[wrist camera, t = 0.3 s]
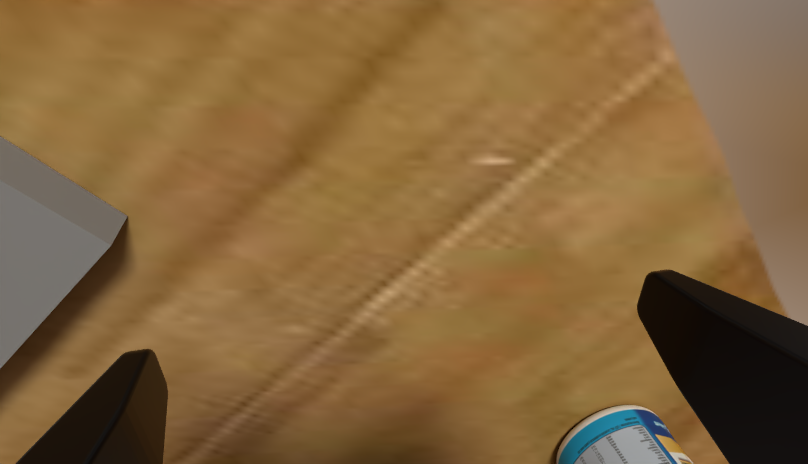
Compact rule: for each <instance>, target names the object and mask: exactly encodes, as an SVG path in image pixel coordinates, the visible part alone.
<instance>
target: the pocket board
mask: <svg viewBox="0 0 808 464" xmlns="http://www.w3.org/2000/svg"><path fill="white" fill-rule="evenodd" d="M126 218H127V215H125V214H123V213H122V212H120V211H119V210H117V209H115V208H114V207H112V206H111V205H109V204H107V203H106V202H104V201H103V200H101V199H99V198H98V197H96V196H95V195H93V194H91V193H90V192H88V191H87V190H85V189H84V188H82V187H80V186H79V185H77V184H76V183H74V182H72V181H71V180H69V179H68V178H66V177H64V176H63V175H61V174H60V173H58V172H56V171H55V170H53V169H52V168H50V167H48V166H47V165H45V164H44V163H42V162H40V161H39V160H37V159H36V158H34V157H33V156H31V155H29V154H28V153H26V152H25V151H23V150H21V149H20V148H18V147H17V146H15V145H13V144H12V143H10V142H9V141H7V140H5V139H4V138H2V137H1V136H0V368H1V367H2V366H3V365H4V364H5V363H6V362H7V361H8V360H9V358H10V357H11V356H12V355H13V354H14V353H15V352H16V351H17V350H18V348H19V347H20V346H21V345H22V344H23V343H24V342H25V341H26V339H27V338H28V337H29V336H30V335H31V334H32V333H33V332H34V331H35V329H36V328H37V327H38V326H39V325H40V324H41V323H42V322H43V321H44V319H45V318H46V317H47V316H48V315H49V314H50V313H51V312H52V311H53V309H54V308H55V307H56V306H57V305H58V304H59V303H60V302H61V301H62V299H63V298H64V297H65V296H66V295H67V294H68V293H69V292H70V291H71V289H72V288H73V287H74V286H75V285H76V284H77V283H78V282H79V281H80V279H81V278H82V277H83V276H84V275H85V274H86V273H87V272H88V271H89V269H90V268H91V267H92V266H93V265H94V264H95V263H96V262H97V261H98V259H99V258H100V257H101V256H102V255H103V254H104V253H105V252H106V251H107V249H108V248H109V247H110V246H111V245H112V243H113V241H114V239H115V238H116V236H117V234H118V232H119V231H120V229H121V227H122V225H123V224H124V222H125V220H126Z"/></svg>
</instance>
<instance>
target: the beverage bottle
mask: <svg viewBox="0 0 808 464" xmlns="http://www.w3.org/2000/svg"><path fill="white" fill-rule="evenodd" d="M557 464H693V463H692V461H691V460H690V459H689V458H688V456H687V455H686V454H685V453H684V451H683V450H682V449H681V448H680V446H679V445H678V444H677V442H676V441H675V440H674V438H673V437H672V435H671V434H670V432H669V430H668V429H667V427H666V426H665V425H664V423H663V422H662V421H661V420H660V419H659V417H658V416H657V415H656V414H655V413H653V412H652V411H651V410H649V409H647V408H644V407H641V406H636V405H620V406H615V407H611V408H607V409H604V410H602V411H599V412H597V413H595V414H593V415H591V416H589V417H588V418H586V419H585V420H583V421H582V422H580V423H579V424H578V425H577V426H575V427H574V428H573V429H572V430H571V431H570V432H569V433H568V435H567V436H566V437H565V439H564V440H563V442H562V443H561V445H560V447H559V450H558V453H557Z"/></svg>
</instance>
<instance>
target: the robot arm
mask: <svg viewBox="0 0 808 464" xmlns="http://www.w3.org/2000/svg"><path fill="white" fill-rule="evenodd" d="M637 311H638V315H639V317H640V320H641V321H642V323H643V325H644V327H645V329H646V331H647V332H648V334H649V336H650V338H651V340H652V342H653V343H654V345H655V347H656V349H657V351H658V353H659V355H660V356H661V358H662V360H663V362H664V364H665V366H666V367H667V369H668V371H669V373H670V375H671V376H672V378H673V380H674V382H675V383H676V385H677V387H678V388H679V390H680V391H681V393H682V394H683V396H684V397H685V399H686V400H687V402H688V403H689V405H690V406H691V408H692V409H693V411H694V412H695V414H696V415H697V417H698V418H699V419H700V421H701V422H702V424H703V425H704V427H705V428H706V430H707V431H708V433H709V434H710V436H711V437H712V439H713V440H714V442H715V443H716V445H717V446H718V448H719V449H720V450H721V452H722V453H723V455H724V456H725V458H726V459H727V461H728V462H729V464H808V326H807V325H804V324H802V323H799V322H797V321H794V320H792V319H790V318H787V317H785V316H782V315H780V314H777V313H775V312H773V311H770V310H768V309H765V308H763V307H760V306H758V305H756V304H753V303H751V302H748V301H746V300H743V299H741V298H739V297H736V296H734V295H731V294H729V293H726V292H724V291H722V290H719V289H717V288H714V287H712V286H709V285H707V284H705V283H702V282H700V281H697V280H695V279H692V278H690V277H688V276H685V275H683V274H680V273H678V272H675V271H673V270H660V271H654V272H650V273H649V274H648V275H647V276H646V278H645V280H644V284H643V287H642V290H641V294H640V297H639V300H638V304H637ZM167 400H168V389H167V384H166V380H165V378H164V375H163V373H162V370H161V367H160V365H159V362H158V360H157V357H156V355H155V353H154V352H153V350H151V349H143V350H136V351H130V352H126V353H124V354H123V355H121V356H120V357H119V358H118V359H117V360H116V361H115V362H114V363H113V364H112V365H111V366H110V367H109V368H108V370H107V371H106V372H105V373H104V374H103V375H102V376H101V377H100V378H99V379H98V380H97V381H96V382H95V383H94V384H93V385H92V386H91V387H90V388H89V389H88V390H87V391H86V392H85V393H84V394H83V395H82V396H81V397H80V398H79V399H78V400H77V401H76V402H75V403H74V404H73V405H72V406H71V407H70V408H69V409H68V410H67V411H66V412H65V413H64V415H63V416H62V417H61V418H60V419H59V420H58V421H57V422H56V423H55V424H54V425H53V426H52V427H51V428H50V429H49V430H48V431H47V432H46V433H45V434H44V435H43V436H42V437H41V438H40V439H39V440H38V441H37V442H36V443H35V444H34V445H33V446H32V447H31V448H30V449H29V450H28V451H27V452H26V453H25V454H24V455H23V456H22V457H21V459H20V460H19V461H18V462H17V463H16V464H163V452H164V439H165V426H166V413H167Z"/></svg>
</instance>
